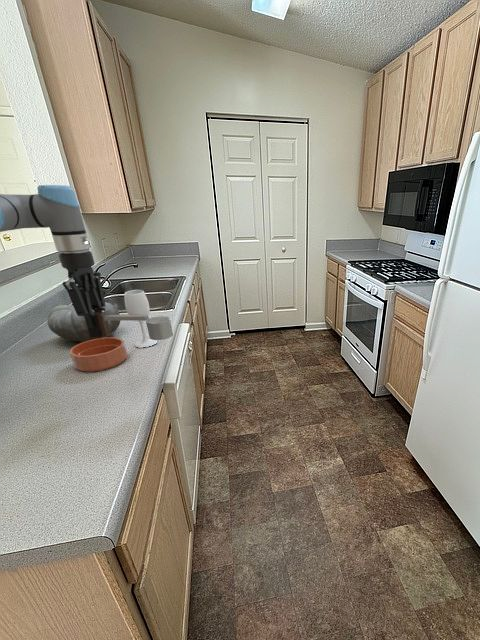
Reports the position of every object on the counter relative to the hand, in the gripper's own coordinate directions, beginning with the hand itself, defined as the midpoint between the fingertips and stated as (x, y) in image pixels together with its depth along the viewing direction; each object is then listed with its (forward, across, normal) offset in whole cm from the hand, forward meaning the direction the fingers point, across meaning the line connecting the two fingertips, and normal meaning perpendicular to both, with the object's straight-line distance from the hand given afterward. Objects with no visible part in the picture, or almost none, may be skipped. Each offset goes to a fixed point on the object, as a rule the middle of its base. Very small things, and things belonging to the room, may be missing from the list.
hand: (99, 334), depth 97 cm
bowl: (+17, +15, +12) cm, 25 cm away
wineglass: (+17, +31, +3) cm, 35 cm away
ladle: (0, 0, -10) cm, 10 cm away
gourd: (+17, +38, +30) cm, 51 cm away
